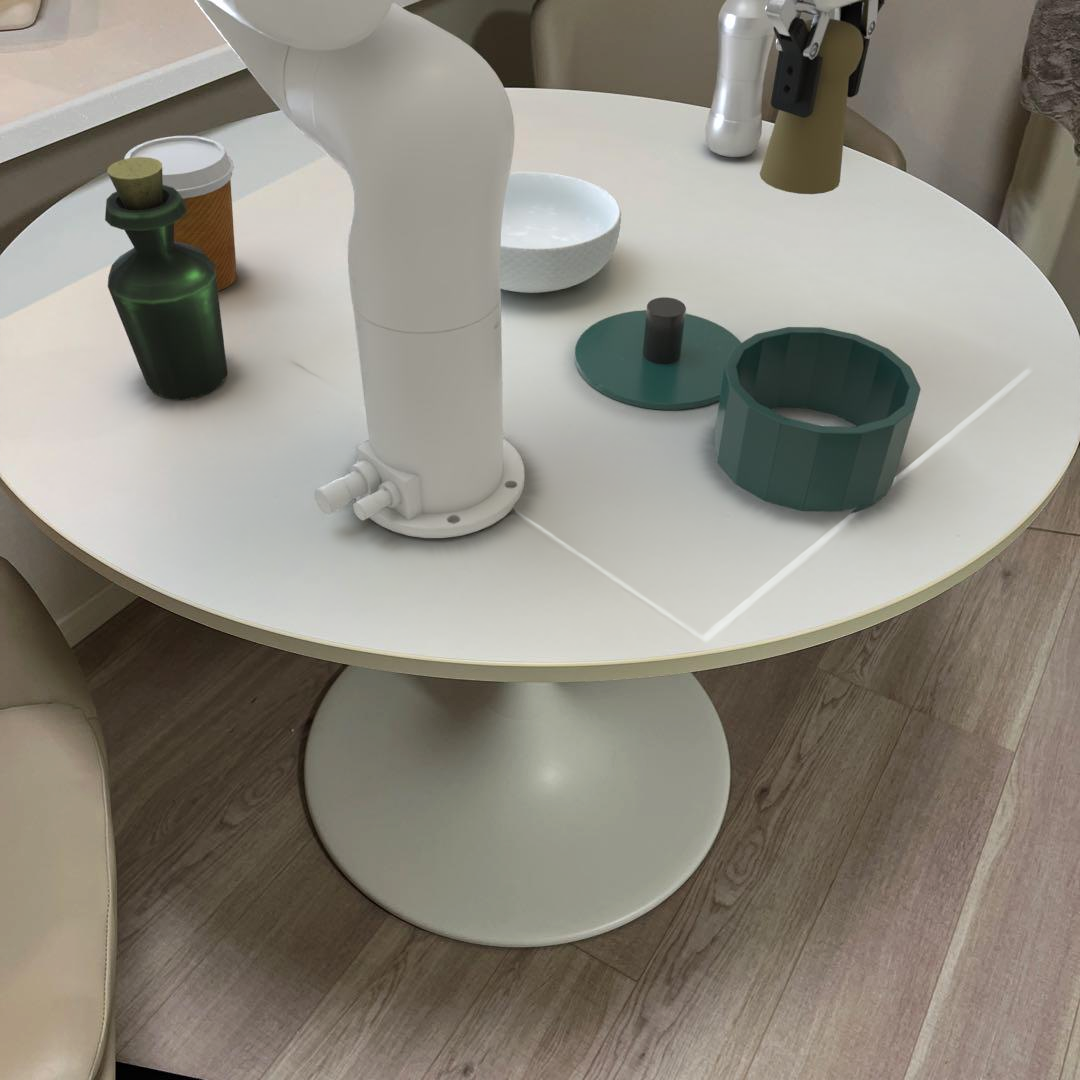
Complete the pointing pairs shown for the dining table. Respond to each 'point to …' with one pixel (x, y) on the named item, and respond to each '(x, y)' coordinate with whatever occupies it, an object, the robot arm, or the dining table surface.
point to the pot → (807, 449)
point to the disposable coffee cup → (199, 196)
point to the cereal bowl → (555, 231)
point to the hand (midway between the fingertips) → (814, 99)
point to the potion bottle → (164, 286)
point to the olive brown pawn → (816, 121)
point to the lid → (656, 357)
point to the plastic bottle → (739, 78)
